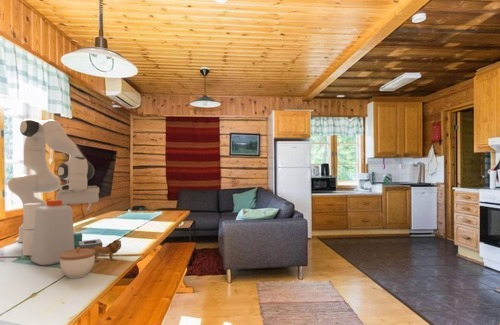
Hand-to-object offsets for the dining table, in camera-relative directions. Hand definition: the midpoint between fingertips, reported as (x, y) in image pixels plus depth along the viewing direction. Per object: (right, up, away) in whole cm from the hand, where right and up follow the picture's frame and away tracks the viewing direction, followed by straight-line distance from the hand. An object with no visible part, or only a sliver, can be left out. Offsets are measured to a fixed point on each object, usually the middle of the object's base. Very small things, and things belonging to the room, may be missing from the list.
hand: (77, 212), depth 162 cm
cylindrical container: (-17, -20, -10) cm, 28 cm away
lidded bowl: (+23, -19, -40) cm, 50 cm away
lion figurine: (+24, -20, -20) cm, 37 cm away
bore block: (+10, -20, -7) cm, 23 cm away
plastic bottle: (0, -19, -21) cm, 28 cm away
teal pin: (0, -20, 0) cm, 20 cm away
